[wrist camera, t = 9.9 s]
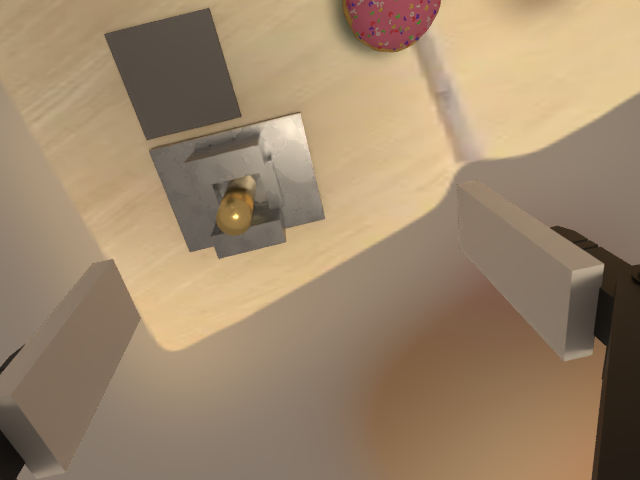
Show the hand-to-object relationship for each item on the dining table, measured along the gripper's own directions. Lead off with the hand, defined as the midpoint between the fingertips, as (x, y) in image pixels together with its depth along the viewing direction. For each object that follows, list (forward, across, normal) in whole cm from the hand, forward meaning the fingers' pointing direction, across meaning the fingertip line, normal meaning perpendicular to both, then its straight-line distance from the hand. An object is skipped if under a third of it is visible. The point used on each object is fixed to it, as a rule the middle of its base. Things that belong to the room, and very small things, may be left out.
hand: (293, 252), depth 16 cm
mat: (+31, -9, +6) cm, 33 cm away
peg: (+30, -6, -6) cm, 31 cm away
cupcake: (+31, +12, +9) cm, 34 cm away
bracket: (+31, -6, -6) cm, 32 cm away
